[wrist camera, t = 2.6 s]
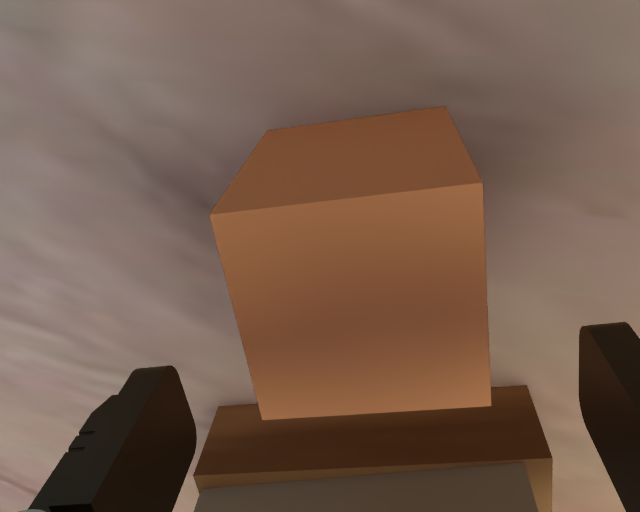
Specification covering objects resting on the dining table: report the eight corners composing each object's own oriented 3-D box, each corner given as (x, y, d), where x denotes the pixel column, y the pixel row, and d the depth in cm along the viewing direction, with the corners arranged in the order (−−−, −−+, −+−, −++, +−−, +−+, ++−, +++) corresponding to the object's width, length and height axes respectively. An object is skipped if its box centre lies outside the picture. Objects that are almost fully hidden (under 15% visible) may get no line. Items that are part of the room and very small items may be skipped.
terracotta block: (267, 130, 18) (209, 214, 12) (444, 106, 17) (482, 182, 11) (297, 283, 21) (262, 420, 14) (455, 267, 20) (491, 406, 13)
